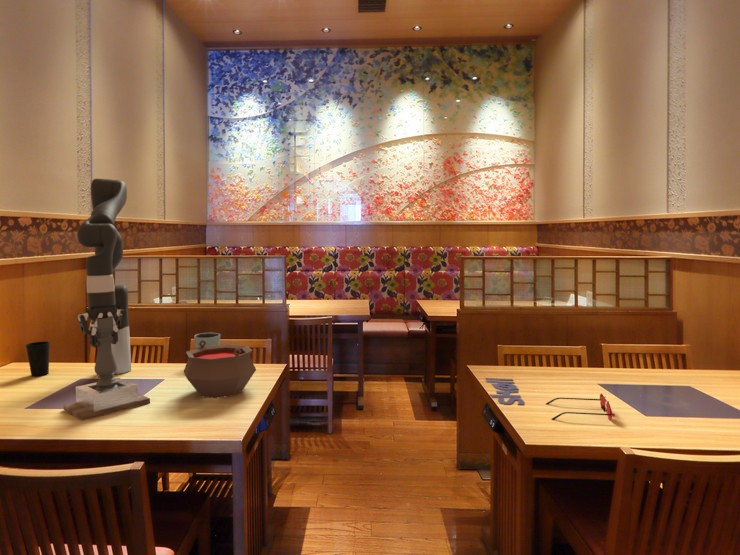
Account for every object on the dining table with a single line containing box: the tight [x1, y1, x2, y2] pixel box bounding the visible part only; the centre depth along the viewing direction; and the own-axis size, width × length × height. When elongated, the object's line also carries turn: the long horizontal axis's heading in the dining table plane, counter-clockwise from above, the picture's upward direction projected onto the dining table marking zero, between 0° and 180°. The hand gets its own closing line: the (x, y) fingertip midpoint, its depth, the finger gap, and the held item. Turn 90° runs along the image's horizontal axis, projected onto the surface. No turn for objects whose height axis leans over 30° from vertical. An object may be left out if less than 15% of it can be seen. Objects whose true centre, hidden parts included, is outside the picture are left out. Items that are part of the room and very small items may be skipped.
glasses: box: [545, 393, 616, 421], centre depth 154 cm, size 14×16×5 cm
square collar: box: [74, 377, 139, 412], centre depth 165 cm, size 13×13×5 cm
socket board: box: [62, 393, 151, 421], centre depth 165 cm, size 14×20×2 cm
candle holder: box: [93, 317, 118, 391], centre depth 164 cm, size 6×6×25 cm
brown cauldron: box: [183, 339, 257, 399], centre depth 179 cm, size 24×24×16 cm
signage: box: [484, 377, 525, 406], centre depth 176 cm, size 28×1×10 cm
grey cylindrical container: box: [193, 332, 221, 349], centre depth 216 cm, size 10×10×12 cm
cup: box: [25, 341, 51, 378], centre depth 203 cm, size 8×8×12 cm
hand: (104, 345), depth 164 cm, fingers closed on candle holder, 5 cm apart
